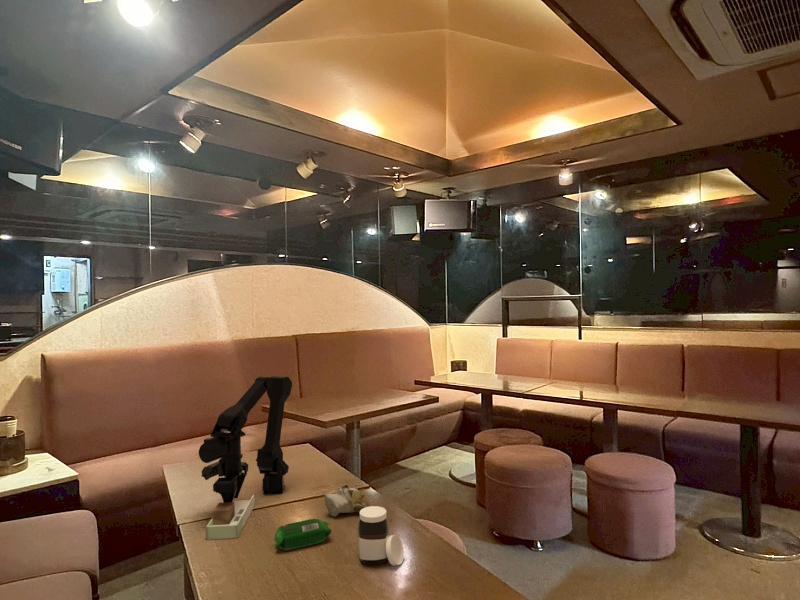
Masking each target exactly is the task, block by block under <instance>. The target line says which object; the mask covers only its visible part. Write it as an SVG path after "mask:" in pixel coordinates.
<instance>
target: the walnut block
mask: <svg viewBox="0 0 800 600" xmlns="http://www.w3.org/2000/svg"><path fill="white" fill-rule="evenodd" d="M234 516H235V505H234V502H224V503H223V502H218V504H217V505H216V506H215V508H214V509H213V510H212V518H213V525H227V524H230V522H231V521H232V519H233V517H234Z"/></svg>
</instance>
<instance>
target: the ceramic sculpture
mask: <svg viewBox="0 0 800 600" xmlns="http://www.w3.org/2000/svg"><path fill="white" fill-rule="evenodd" d="M323 496H324V504H325V506H326V509H327V511H328V514H329V516H331V517H334V518H336V517H338V515H339V514H344V513H345V514H351V513H352V514H353V513H355V512H356V513H360V510H362V509H363V508H366V507H370V506H376V505H375V504H370V503H368V502H363V498H364V497H365V494H361V492H360V490H358V489H357V488H355V487H349V485H343V486H341V487H340V488H339V490H338V491H337V492H336V493H329V492H328V493H327V492H324V494H323Z"/></svg>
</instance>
